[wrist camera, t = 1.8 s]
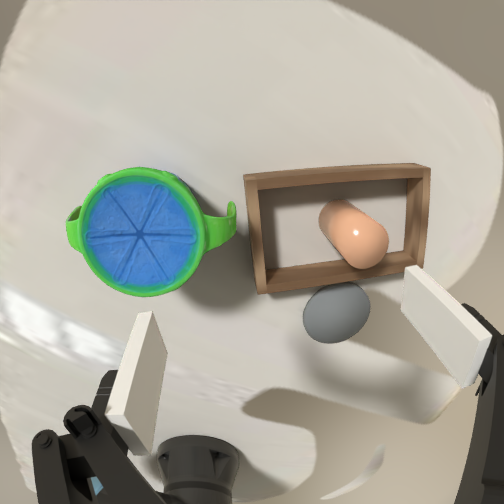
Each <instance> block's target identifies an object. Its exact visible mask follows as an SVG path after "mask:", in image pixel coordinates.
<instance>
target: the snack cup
mask: <svg viewBox="0 0 504 504" xmlns="http://www.w3.org/2000/svg"><path fill="white" fill-rule="evenodd" d="M66 231H67V236H68V240H69V243H70V245H71V246H72V247H73V248H74V249H75V250H77V251H79V252H81V253H82V254H83V256H84V258H85V260H86V262H87V264H88V265H89V267H90V268H91V270H92V271H93V272H94V273H95V275H96V276H97V277H98V278H100V279H101V280H102V281H103V282H104V283H106V284H107V285H108V286H110V287H111V288H113V289H115V290H117V291H120V292H122V293H125V294H128V295H132V296H138V297H152V296H159V295H162V294H165V293H168V292H171V291H174V290H176V289H178V288H180V287H181V286H182V285H183V284H184V283H185V282H186V281H187V280H188V279H189V278H190V277H191V276H192V275H193V273H194V272H195V270H196V269H197V267H198V265H199V263H200V261H201V258H202V256H203V255H204V254H205V253H206V252H208V251H209V250H212V249H214V248H216V247H218V246H221V245H222V244H223V243H224V242H226V241H228V240H229V239H230V238H231V237H232V236H233V235H234V234H235V232H236V206H235V204H234V203H233V202H232V201H230V202H229V203H228V208H227V217H213V216H209V215H205V214H204V213H203V212H202V210H201V208H200V206H199V204H198V202H197V200H196V199H195V197H194V196H193V194H192V192H191V191H190V189H189V187H188V186H187V185H186V183H185V182H183V181H182V180H181V179H180V178H179V177H178V176H176V175H175V174H172V173H169V172H167V171H160V170H157V169H152V168H145V167H135V168H128V169H124V170H121V171H118V172H116V173H113V174H107V175H105V176H104V177H102V178H101V179H100V180H98V183H97V185H96V186H95V187H94V188H93V189H92V190H91V191H90V193H89V194H88V196H87V197H86V199H85V201H84V203H83V205H82V206H79V207H77V208H75V209H74V211H73V212H72V213H71V214H70V215H69V217H68V218H67V220H66Z"/></svg>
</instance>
